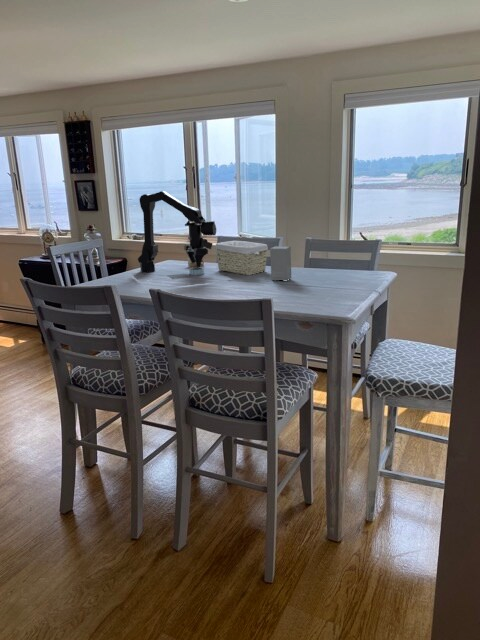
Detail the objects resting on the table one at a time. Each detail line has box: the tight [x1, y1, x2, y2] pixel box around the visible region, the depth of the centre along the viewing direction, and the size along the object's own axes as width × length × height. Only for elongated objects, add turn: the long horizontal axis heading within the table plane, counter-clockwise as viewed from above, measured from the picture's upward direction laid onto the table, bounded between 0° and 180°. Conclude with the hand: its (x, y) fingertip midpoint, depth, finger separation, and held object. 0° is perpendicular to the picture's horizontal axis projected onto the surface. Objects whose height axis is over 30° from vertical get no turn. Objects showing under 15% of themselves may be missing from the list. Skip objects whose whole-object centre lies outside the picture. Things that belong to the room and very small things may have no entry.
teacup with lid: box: [187, 255, 206, 269], centre depth 260 cm, size 12×9×12 cm
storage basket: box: [215, 240, 269, 276], centre depth 244 cm, size 24×16×15 cm
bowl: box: [188, 267, 205, 276], centre depth 237 cm, size 7×7×4 cm
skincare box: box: [269, 245, 292, 280], centre depth 221 cm, size 8×7×16 cm
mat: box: [166, 273, 193, 280], centre depth 231 cm, size 10×10×1 cm
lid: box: [188, 262, 204, 268], centre depth 236 cm, size 7×7×2 cm
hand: (196, 266), depth 237 cm, fingers closed on lid, 7 cm apart
